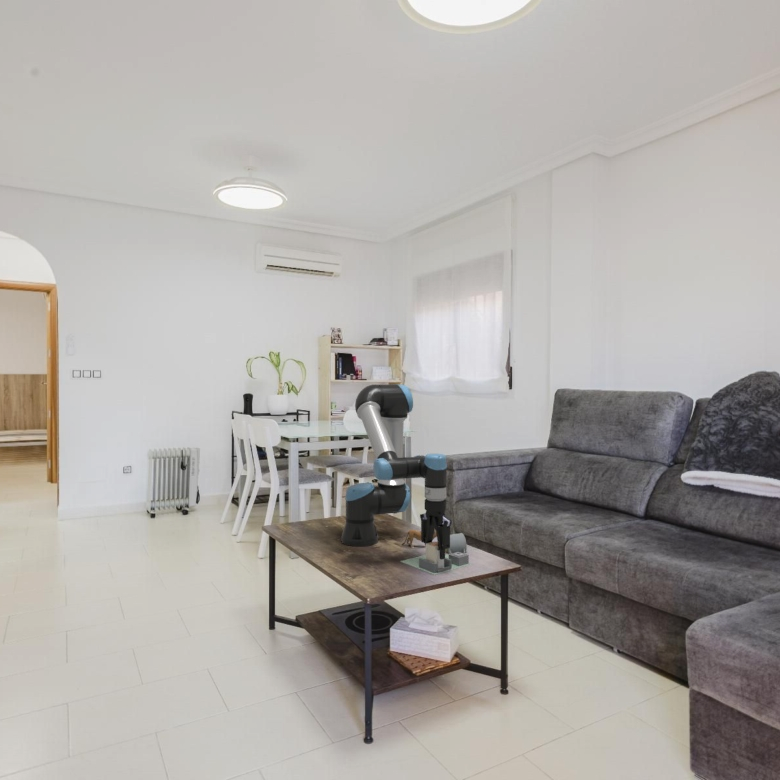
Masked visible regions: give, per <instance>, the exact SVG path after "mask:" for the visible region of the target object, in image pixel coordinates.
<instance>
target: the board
mask: <svg viewBox="0 0 780 780" xmlns="http://www.w3.org/2000/svg"><path fill="white" fill-rule="evenodd" d="M419 558H422V559H425V560H426V554H423V555H420V556H416V557H411V558H408V559H404V560H400V561H399V562H400V563H403V564H406V565H408V566H410V567H413V568H416V569H419V570H421V571H424V572H426V573H429V574H432V575H433V576H436V575H438V574H443V573H446V572H450V571H452V570H455V569H459V568H462V567H463V568H464V567H466V566H469V565H471V563H470V562H469V563H468V564H465V565H462V566H456V565H454V564H452V568H451V569H450V570H447V571H443V572H440V573H433V572H430V571H428V570H425V569H422V568H420V567H419ZM445 558H448V559H449V555H447V554H445ZM440 569H441V568H440Z"/></svg>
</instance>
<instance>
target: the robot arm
mask: <svg viewBox="0 0 780 780" xmlns="http://www.w3.org/2000/svg"><path fill="white" fill-rule="evenodd" d="M354 407H355V409H354V410H355V412H356V415H357V417H358V419H360V420H361V423H362V425H363V427H364V429H365V432H366V435H367V437H368V441H369V442H370V445H371V448H372V451H373V453H374V456H375V459H374V461H373V468H372V469H373V474H374V477H375V479H376V480H377V485H376V486H375V485H374V483H372V482H360V483H359V482H358V483H354V484H352V485H349V486H348V487H347V488H346V491H345V498H344V499H345V524H344V526H343V530H342V534H341V541H342V542H341V543H342V544H343V543H344V545H346V544H347V546H350V545H352V546H351V547H366V546H367V547H368V546H371V545H375V544H377V543H378V542H379V534H378V531H377V527H376V525H375V516H376V515H386V514H387V515H388V514H399V513H404V512H405V511H406V510H407V509H408V507H409V506H410V503H411V492H410V487H409V485H408V484H406V481H405V480H404V479H419V478H420V479H421V478H422V479H424V498H425V499H424V510H425V513H421V514H419V519H420V531H421V543H423V544H424V545H426V543H430V542H433V541H432V540H434V539H433V534H434V529H435V530H436V534H437V537H436V540H437V542H438V547H439V548H438V549H437V569H440V568H444V559H445V555H446V553H445V549H448V548H450V535H451V527H452V526H451V525H452V519H447V518H446V514H445V512H446V510H447V500H446V499H447V474H448V473H447V470H448V469H447V468H448V464H447V456H446V455H445V454H443V453H427V454H425V455H424V454H423V455H421V454H419V455H414V456H407V457H403V456H404V453H403V450H404V425H405V424H404V421H406V419H408V414H410V413H412V411H413V408H414V396H413V394H412V392H411V389H410V388H409V386H407V385H405V384H397V383H396V384H395V383H394V384H393V383H392V384H370V385H367V386H365V387H364V388H362V390H361V391H360V392H359V393H358V395H357V396H356V398H355V403H354Z"/></svg>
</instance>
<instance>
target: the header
mask: <svg viewBox="0 0 780 780" xmlns="http://www.w3.org/2000/svg"><path fill="white" fill-rule="evenodd" d="M419 567H420V568H422V569H425V570H428V571H430V572H433V573H439V574H441V573H440V572H443V571H446V572H448V571H447V570H450V569H451V568H452V560H451V559H448V558H445V559H444V568H441V569H437V564H436V563H433V562H431V561H428V560H425V559H422V558H419ZM450 571H451V570H450ZM443 573H444V572H443Z"/></svg>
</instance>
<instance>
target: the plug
mask: <svg viewBox="0 0 780 780" xmlns="http://www.w3.org/2000/svg"><path fill="white" fill-rule="evenodd" d="M438 548H439V547H438V541H432V542H430V543H426V546H425V555H426V560H428V561H431V562H433V563H436V564H437V549H438Z"/></svg>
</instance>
